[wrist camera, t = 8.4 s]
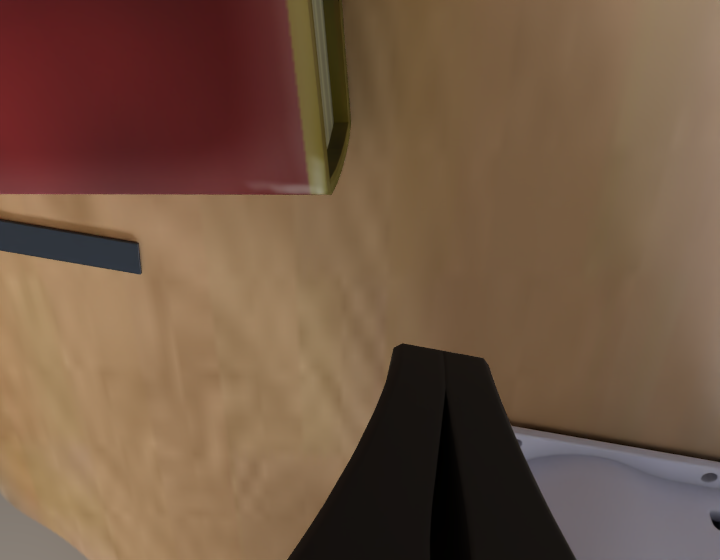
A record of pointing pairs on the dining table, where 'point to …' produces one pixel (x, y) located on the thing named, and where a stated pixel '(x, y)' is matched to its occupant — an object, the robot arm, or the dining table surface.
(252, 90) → the hardcover book
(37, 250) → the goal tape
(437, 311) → the dining table surface
